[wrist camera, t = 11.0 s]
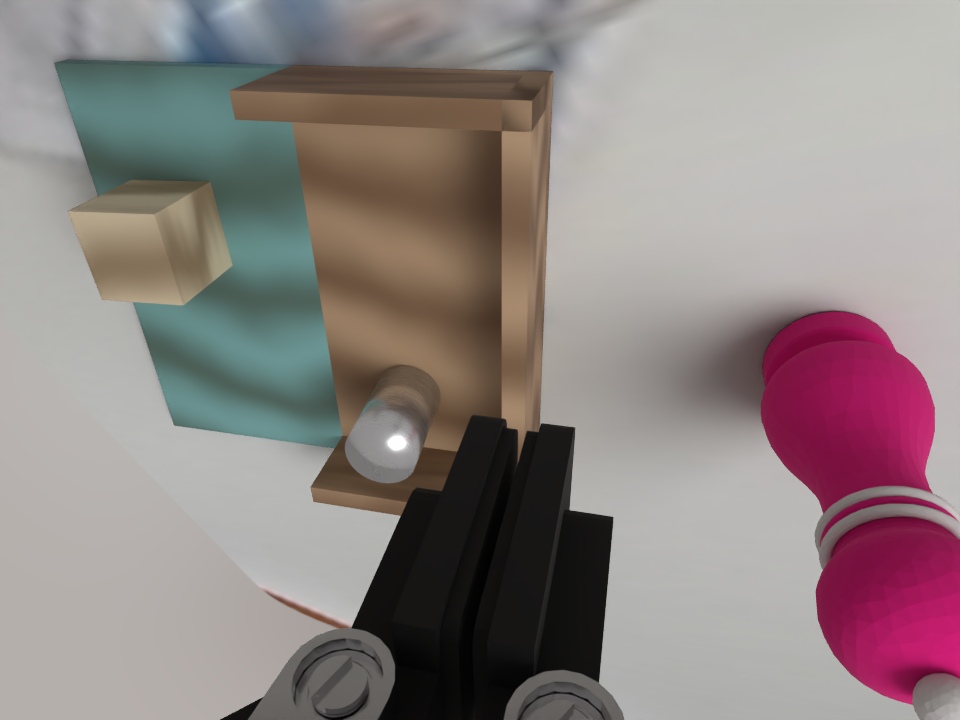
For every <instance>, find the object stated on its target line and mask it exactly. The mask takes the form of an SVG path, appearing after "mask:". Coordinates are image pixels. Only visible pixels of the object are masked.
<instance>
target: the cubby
mask: <svg viewBox="0 0 960 720" xmlns="http://www.w3.org/2000/svg"><path fill="white" fill-rule="evenodd" d="M54 64H55V67H56V70H57V73H58V76H59V79H60V82H61V85H62V88H63V91H64V94H65V97H66V100H67V103H68V106H69V109H70V112H71V115H72V118H73V121H74V124H75V127H76V130H77V133H78V136H79V139H80V142H81V145H82V148H83V151H84V154H85V157H86V160H87V163H88V166H89V169H90V173H91V176H92V179H93V182H94V185H95V188H96V191H97V194H98V196H100V195H102V194H104V193H106V192H108V191H110V190H112V189H114V188H116V187H118V186H120V185H122V184H124V183H126V182H128V181H130V180H162V181H203V182H210V183H211V186H212V190H213V194H214V198H215V201H216V205H217V209H218V212H219V216H220V220H221V224H222V227H223V231H224V235H225V239H226V242H227V246H228V250H229V254H230V257H231V261H232V265H233V266H232V267H230V268H229V269H228V270H227V271H225V272H224V273H223V274H222V275H220V276H219V277H218V278H217V279H215V280H214V281H213V282H212V283H211V284H209V285H208V286H207V287H206V288H204V289H203V290H202V291H201V292H199V293H198V294H197V295H196V296H194V297H193V298H192V299H191V300H190V301H188V302H187V303H186V304H185V305H169V304H155V303H140V302H133V303H134V306H135V309H136V312H137V315H138V318H139V321H140V324H141V327H142V330H143V333H144V336H145V339H146V342H147V345H148V348H149V351H150V354H151V357H152V360H153V363H154V366H155V369H156V372H157V375H158V378H159V381H160V384H161V387H162V390H163V393H164V396H165V399H166V402H167V405H168V408H169V411H170V414H171V417H172V420H173V423H174V425H175V426H182V427H189V428H196V429H203V430H210V431H217V432H224V433H231V434H238V435H245V436H252V437H259V438H266V439H273V440H280V441H287V442H294V443H302V444H309V445H316V446H323V447H330V448H335V449H334V450H333V452H332V454H331V455H330V457H329V458H328V460H327V462H326V463H325V465H324V467H323V468H322V470H321V471H320V473H319V475H318V476H317V478H316V479H315V481H314V483H313V484H312V486H311V492H312V497H313V501H314V502H319V503H325V504H331V505H337V506H344V507H350V508H356V509H362V510H369V511H375V512H381V513H387V514H394V515H400V516H401V515H402V512H403V510H404V508H405V506H406V503H407V501H408V499H409V497H410V495H411V493H412V491H413V490H414V489H415V488H416V487H418V488H424V489H431V490H438V491H442V490H443V487H444V484H445V482H446V479H447V477H448V474H449V472H450V469H451V466H452V464H453V461H454V459H455V456H456V454H457V451H458V449H459V446H460V443H461V441H462V438H463V436H464V433H465V431H466V428H467V425H468V423H469V420H470V418H471V416H472V415H480V416H487V417H495V418H503V419H506V421H507V428H512V429H517V430H518V461H519V458H520V454H521V450H522V447H523V443H524V439H525V436H526V432H527V431H535V432H539V428H540V402H541V376H542V350H543V324H544V298H545V273H546V247H547V221H548V195H549V169H550V143H551V117H552V91H553V72H550V71H509V70H469V69H428V68H387V67H346V66H306V65H265V64H224V63H183V62H142V61H102V60H65V61H60V62H56V63H54ZM401 365H407V366H413V367H416V368H419V369H421V370H423V371H425V372H426V373H428V374H429V375H430V376H431V377H432V378H433V379H434V380H435V382H436V383H437V385H438V387H439V389H440V393H441V400H440V404H439V407H438V410H437V412H436V415H435V417H434V420H433V422H432V425H431V428H430V430H429V433H428V435H427V438H426V441H425V443H424V446H423V448H422V451H421V453H420V456H419V459H418V461H417V464H416V466H415V469H414V471H413V473H412V474H411V475H410V476H409V477H408V478H406V479H405V480H403V481H400V482H397V483H380V482H376V481H373V480H370V479H368V478H366V477H364V476H362V475H361V474H360V473H358V472H357V471H356V470H355V469H354V468H353V467H352V466H351V464H350V463H349V461H348V459H347V457H346V453H345V443H346V440H347V438H348V436H349V434H350V432H351V431H352V429H353V427H354V425H355V423H356V421H357V419H358V418H359V416H360V414H361V412H362V410H363V408H364V407H365V405H366V403H367V401H368V399H369V397H370V396H371V394H372V392H373V390H374V388H375V386H376V384H377V383H378V381H379V379H380V377H381V376H382V374H383V373H384V372H385V371H387V370H388V369H390V368H392V367H395V366H401Z"/></svg>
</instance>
